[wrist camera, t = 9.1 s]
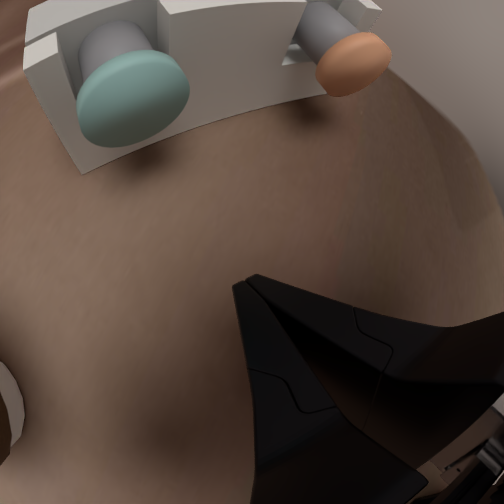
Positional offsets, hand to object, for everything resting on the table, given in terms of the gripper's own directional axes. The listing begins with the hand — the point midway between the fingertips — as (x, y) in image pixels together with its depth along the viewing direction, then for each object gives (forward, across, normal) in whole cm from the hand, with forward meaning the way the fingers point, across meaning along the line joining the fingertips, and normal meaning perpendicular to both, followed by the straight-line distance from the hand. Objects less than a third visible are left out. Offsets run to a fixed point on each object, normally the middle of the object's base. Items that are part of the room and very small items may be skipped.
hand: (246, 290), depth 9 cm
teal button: (+10, +1, -6) cm, 11 cm away
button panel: (+16, -5, -5) cm, 17 cm away
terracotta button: (+9, -11, -5) cm, 15 cm away
